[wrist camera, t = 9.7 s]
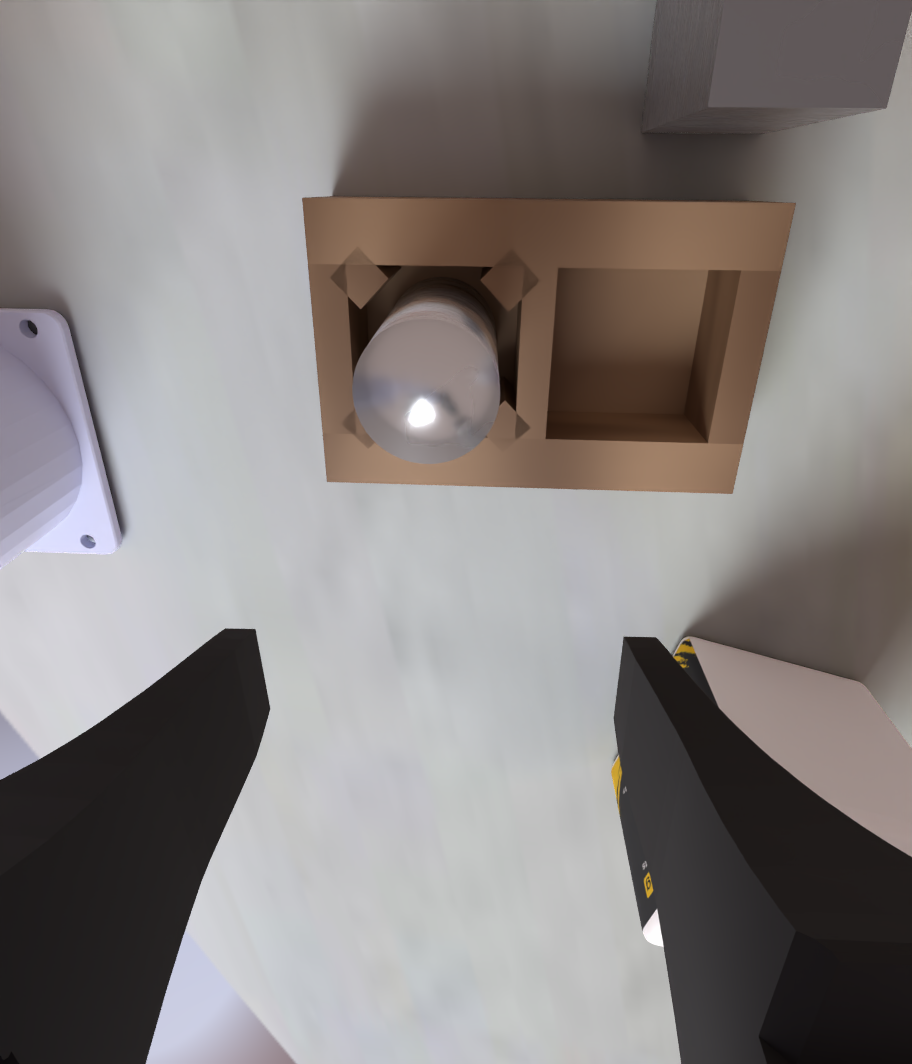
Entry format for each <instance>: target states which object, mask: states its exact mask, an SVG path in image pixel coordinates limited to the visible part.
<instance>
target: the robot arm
mask: <svg viewBox="0 0 912 1064" xmlns="http://www.w3.org/2000/svg"><path fill="white" fill-rule="evenodd" d="M28 320H31V321H32V322H33V323H34V324H35V325H36V327H37V329H38V334H37V335H36V334H34V333H33V332H31V331H30V329H29V327H28ZM87 535H89V536H91V537H93V538H94V540H95V542H96V543H94V542H91V541H90V540H89V539H88V538H87ZM121 544H122V536H121V532H120V528H119V524H118V520H117V516H116V512H115V508H114V504H113V500H112V496H111V492H110V488H109V484H108V480H107V476H106V472H105V468H104V465H103V461H102V457H101V453H100V449H99V445H98V441H97V437H96V433H95V429H94V425H93V421H92V417H91V413H90V409H89V405H88V401H87V397H86V393H85V389H84V385H83V381H82V377H81V373H80V369H79V365H78V361H77V357H76V353H75V349H74V345H73V341H72V337H71V333H70V329H69V326H68V324H67V322H66V320H65V319H64V318H63V316H62V315H61V314H59V313H58V312H56V311H54V310H49V309H13V308H0V569H2V568H3V567H4V566H6V565H7V564H8V563H10V562H11V561H12V560H13V559H15V558H16V557H17V556H19V555H20V554H21V553H23V552H53V553H82V554H112V553H113V552H115V551H116V550H117V549H118V548H119V547H120V546H121ZM269 711H270V705H269V700H268V694H267V689H266V684H265V678H264V673H263V668H262V662H261V657H260V652H259V646H258V641H257V636H256V630H255V629H224V630H223V631H221V632H220V633H218V634H217V635H216V636H214V637H213V638H212V639H210V640H209V641H208V642H206V643H205V644H204V645H203V646H201V647H200V648H199V649H197V650H196V651H195V652H194V653H192V654H191V655H190V656H189V657H187V658H186V659H185V660H184V661H182V662H181V663H180V664H178V665H177V666H176V667H175V668H173V669H172V670H171V671H169V672H168V673H167V674H165V675H164V676H163V677H162V678H160V679H159V680H158V681H156V682H155V683H154V684H152V685H151V686H150V687H149V688H147V689H146V690H145V691H143V692H142V693H140V694H139V695H138V696H136V697H135V698H133V699H132V700H131V701H129V702H128V703H126V704H125V705H123V706H122V707H121V708H119V709H118V710H116V711H115V712H114V713H112V714H111V715H109V716H108V717H107V718H105V719H104V720H102V721H101V722H99V723H98V724H96V725H95V726H93V727H92V728H90V729H89V730H87V731H86V732H84V733H82V734H81V735H79V736H78V737H76V738H75V739H73V740H71V741H70V742H68V743H66V744H65V745H63V746H61V747H60V748H58V749H56V750H55V751H53V752H51V753H50V754H48V755H46V756H44V757H43V758H41V759H39V760H37V761H36V762H34V763H32V764H30V765H28V766H26V767H24V768H22V769H21V770H19V771H17V772H15V773H13V774H11V775H9V776H7V777H5V778H3V779H1V780H0V1064H146V1060H147V1056H148V1053H149V1049H150V1046H151V1042H152V1039H153V1035H154V1031H155V1028H156V1024H157V1021H158V1018H159V1014H160V1010H161V1007H162V1003H163V1000H164V996H165V993H166V990H167V986H168V983H169V980H170V976H171V973H172V970H173V967H174V964H175V961H176V957H177V954H178V951H179V947H180V944H181V941H182V938H183V935H184V932H185V929H186V926H187V923H188V920H189V917H190V914H191V911H192V908H193V905H194V902H195V899H196V896H197V893H198V890H199V887H200V884H201V881H202V879H203V876H204V874H205V871H206V869H207V866H208V864H209V861H210V859H211V857H212V854H213V852H214V850H215V848H216V846H217V843H218V841H219V839H220V837H221V834H222V832H223V830H224V828H225V826H226V823H227V821H228V819H229V817H230V814H231V812H232V810H233V808H234V806H235V803H236V801H237V799H238V797H239V794H240V792H241V790H242V788H243V785H244V783H245V781H246V779H247V776H248V774H249V772H250V770H251V767H252V765H253V763H254V760H255V758H256V756H257V752H258V749H259V746H260V743H261V739H262V736H263V733H264V729H265V726H266V722H267V719H268V715H269ZM614 724H615V731H616V739H617V746H618V753H619V759H620V766H621V770H622V774H623V778H624V782H625V786H626V789H627V793H628V797H629V801H630V804H631V808H632V812H633V815H634V819H635V823H636V826H637V830H638V834H639V837H640V841H641V845H642V848H643V852H644V856H645V859H646V863H647V867H648V870H649V874H650V878H651V882H652V887H653V891H654V896H655V900H656V905H657V911H658V917H659V923H660V929H661V934H662V940H663V946H664V952H665V958H666V964H667V971H668V977H669V983H670V990H671V996H672V1003H673V1009H674V1015H675V1022H676V1029H677V1036H678V1043H679V1050H680V1057H681V1064H912V857H911V856H909V855H908V854H906V853H904V852H903V851H901V850H899V849H898V848H896V847H894V846H893V845H891V844H889V843H888V842H886V841H885V840H883V839H882V838H880V837H878V836H877V835H875V834H874V833H872V832H871V831H869V830H868V829H866V828H865V827H863V826H861V825H860V824H858V823H857V822H856V821H854V820H853V819H851V818H850V817H848V816H847V815H846V814H844V813H843V812H841V811H840V810H838V809H837V808H836V807H834V806H833V805H831V804H830V803H828V802H827V801H826V800H824V799H823V798H822V797H820V796H819V795H817V794H816V793H815V792H813V791H812V790H811V789H809V788H808V787H807V786H806V785H804V784H803V783H802V782H801V781H799V780H798V779H797V778H796V777H794V776H793V775H792V774H791V773H789V772H788V771H787V770H786V769H784V768H783V767H782V766H781V765H780V764H778V763H777V762H776V761H775V760H773V759H772V758H771V757H770V756H769V755H768V754H767V753H765V752H764V751H763V750H762V749H761V748H760V747H759V746H758V745H756V744H755V743H754V742H753V741H752V740H751V739H750V738H749V737H748V736H747V735H746V734H745V733H744V732H743V731H742V730H740V729H739V728H738V727H737V726H736V725H735V724H734V723H733V722H732V721H731V720H730V719H729V718H728V717H727V716H726V715H725V714H724V713H723V711H722V710H721V709H720V708H719V707H718V706H717V705H716V704H715V703H714V702H713V701H712V700H711V699H710V698H709V697H708V696H707V695H706V694H705V692H704V691H703V690H702V689H701V688H700V687H699V686H698V685H697V684H696V682H695V681H694V680H693V679H692V678H691V677H690V676H689V675H688V673H687V672H686V671H685V670H684V669H683V668H682V666H681V665H680V664H679V663H678V662H677V661H676V659H675V658H674V657H673V656H672V655H671V654H670V652H669V651H668V650H667V649H666V648H665V647H664V645H663V644H662V643H661V642H660V641H659V640H658V639H657V638H656V637H624V639H623V647H622V655H621V664H620V672H619V680H618V688H617V696H616V704H615V712H614Z"/></svg>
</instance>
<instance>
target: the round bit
mask: <svg viewBox="0 0 912 1064" xmlns="http://www.w3.org/2000/svg"><path fill="white" fill-rule="evenodd" d="M352 392H353V401H354V407H355V410H356V413H357V416H358V418H359V420H360V423H361V424H362V426H363V428H364V429H365V431H366V432H367V433H368V435H369V436H370V437H371V438H372V439H373V440H374V441H375V442H376V443H377V444H378V445H379V446H380V447H381V448H383V449H384V450H385V451H387V452H389V453H390V454H392V455H394V456H396V457H398V458H400V459H403V460H406V461H409V462H414V463H420V464H437V463H443V462H448V461H451V460H454V459H457V458H459V457H461V456H463V455H465V454H466V453H468V452H470V451H471V450H472V449H474V448H475V447H476V446H477V445H478V444H479V443H480V442H481V441H482V440H483V439H484V438H485V437H486V435H487V434H488V432H489V431H490V429H491V427H492V426H493V424H494V422H495V419H496V416H497V413H498V409H499V404H500V382H499V369H498V356H497V342H496V329H495V322H494V317H493V314H492V311H491V309H490V307H489V305H488V303H487V302H486V300H485V299H484V298H483V296H482V295H481V294H480V293H479V292H478V291H477V290H476V289H474V288H473V287H472V286H470V285H469V284H467V283H465V282H463V281H460V280H457V279H454V278H449V277H435V278H430V279H426V280H423V281H421V282H419V283H417V284H415V285H413V286H412V287H411V288H409V289H408V290H407V291H406V292H405V293H404V294H403V295H402V296H401V298H400V299H399V300H398V302H397V303H396V305H395V306H394V307H393V309H392V310H391V312H390V313H389V315H388V316H387V318H386V319H385V320H384V322H383V323H382V325H381V326H380V328H379V329H378V331H377V332H376V334H375V335H374V336H373V338H372V339H371V341H370V342H369V344H368V345H367V347H366V348H365V349H364V351H363V353H362V355H361V356H360V358H359V360H358V363H357V365H356V368H355V372H354V376H353V385H352Z"/></svg>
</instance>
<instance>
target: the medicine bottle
mask: <svg viewBox="0 0 912 1064" xmlns="http://www.w3.org/2000/svg"><path fill="white" fill-rule="evenodd" d="M673 657H674V658H675V659H676V661H677V662H678V663H679V664H680V665H681V666H682V668H683V669H684V670H685V671H686V672H687V673H688V675H689V676H690V677H691V678H692V679H693V680H694V681H695V682H696V684H697V685H698V686H699V687H700V688H701V689H702V690H703V691H704V692H705V694H706V695H707V696H708V697H709V698H710V699H711V700H712V701H713V702H714V703H715V704H716V705H717V706H718V707H719V708H720V709H721V710H722V711H723V713H724V714H725V715H726V716H727V717H728V718H729V719H730V720H731V721H732V722H733V723H734V724H735V725H736V726H737V727H738V728H739V729H740V730H742V731H743V732H744V733H745V734H746V735H747V736H748V737H749V738H750V739H751V740H752V741H753V742H754V743H755V744H756V745H758V746H759V747H760V748H761V749H762V750H763V751H764V752H765V753H767V754H768V755H769V756H770V757H771V758H772V759H773V760H775V761H776V762H777V763H778V764H780V765H781V766H782V767H783V768H784V769H786V770H787V771H788V772H789V773H791V774H792V775H793V776H794V777H796V778H797V779H798V780H799V781H801V782H802V783H803V784H804V785H806V786H807V787H808V788H809V789H811V790H812V791H813V792H815V793H816V794H817V795H819V796H820V797H822V798H823V799H824V800H826V801H827V802H828V803H830V804H831V805H833V806H834V807H836V808H837V809H838V810H840V811H841V812H843V813H844V814H846V815H847V816H848V817H850V818H851V819H853V820H854V821H856V822H857V823H858V824H860V825H861V826H863V827H865V828H866V829H868V830H869V831H871V832H872V833H874V834H875V835H877V836H878V837H880V838H882V839H883V840H885V841H886V842H888V843H889V844H891V845H893V846H894V847H896V848H898V849H899V850H901V851H903V852H904V853H906V854H908V855H909V856H911V857H912V748H911V747H910V746H909V744H908V743H907V741H906V740H905V739H904V737H903V736H902V735H901V733H900V732H899V731H898V729H897V728H896V727H895V725H894V724H893V723H892V721H891V720H890V719H889V717H888V716H887V714H886V713H885V712H884V710H883V709H882V708H881V706H880V705H879V704H878V702H877V701H876V700H875V698H874V697H873V696H872V694H871V693H870V691H869V690H868V689H867V687H866V686H865V685H863V684H862V683H860V682H858V681H855V680H851V679H847V678H843V677H840V676H836V675H832V674H829V673H825V672H821V671H818V670H814V669H810V668H807V667H803V666H799V665H796V664H792V663H788V662H784V661H781V660H777V659H773V658H770V657H766V656H762V655H759V654H755V653H751V652H748V651H744V650H740V649H737V648H733V647H729V646H725V645H722V644H718V643H714V642H711V641H707V640H703V639H700V638H696V637H689V636H688V637H686V638H683V639H682V640H681V641H680V643H679V645H678V647H677V649H676V651H675V652H674V654H673ZM611 773H612V778H613V784H614V789H615V794H616V799H617V804H618V809H619V814H620V819H621V824H622V829H623V835H624V840H625V845H626V850H627V855H628V860H629V865H630V870H631V875H632V880H633V886H634V891H635V896H636V901H637V906H638V911H639V916H640V921H641V926H642V931H643V934H644V936H645V938H646V939H647V941H649V942H650V943H652V944H654V945H659V946H663V940H662V934H661V929H660V923H659V917H658V911H657V905H656V900H655V896H654V891H653V887H652V882H651V878H650V874H649V870H648V867H647V863H646V859H645V856H644V852H643V848H642V845H641V841H640V837H639V834H638V830H637V826H636V823H635V819H634V815H633V812H632V808H631V804H630V801H629V797H628V793H627V789H626V786H625V782H624V778H623V774H622V770H621V766H620V759H619V754H618V756H617V758H616V760H615V761H614V763H613V765H612V771H611ZM663 947H664V946H663Z"/></svg>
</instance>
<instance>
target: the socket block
mask: <svg viewBox="0 0 912 1064" xmlns="http://www.w3.org/2000/svg"><path fill="white" fill-rule="evenodd" d="M302 201H303V212H304V224H305V235H306V247H307V258H308V270H309V281H310V292H311V304H312V315H313V327H314V338H315V350H316V361H317V373H318V384H319V395H320V407H321V418H322V430H323V441H324V453H325V464H326V476H327V482H351V483H385V484H419V485H453V486H486V487H520V488H554V489H588V490H622V491H656V492H690V493H724V494H732V493H733V489H734V484H735V479H736V475H737V470H738V466H739V461H740V457H741V452H742V447H743V443H744V438H745V434H746V429H747V425H748V420H749V415H750V411H751V406H752V402H753V397H754V393H755V388H756V383H757V379H758V374H759V370H760V365H761V361H762V356H763V351H764V347H765V342H766V338H767V333H768V329H769V324H770V319H771V315H772V310H773V306H774V301H775V297H776V292H777V287H778V283H779V278H780V274H781V269H782V265H783V260H784V255H785V251H786V246H787V242H788V237H789V232H790V228H791V223H792V219H793V214H794V210H795V205H796V203H783V202H764V201H725V200H629V199H533V198H437V197H340V196H330V197H311V198H302ZM435 277H449V278H454V279H457V280H460V281H463V282H465V283H467V284H469V285H470V286H472V287H473V288H474V289H476V290H477V291H478V292H479V293H480V294H481V295H482V296H483V298H484V299H485V300H486V302H487V303H488V305H489V307H490V309H491V311H492V314H493V317H494V322H495V329H496V342H497V356H498V369H499V382H500V404H499V409H498V413H497V416H496V419H495V422H494V424H493V426H492V427H491V429H490V431H489V432H488V434H487V435H486V437H485V438H484V439H483V440H482V441H481V442H480V443H479V444H478V445H477V446H476V447H475V448H474V449H472V450H471V451H470V452H468V453H466V454H465V455H463V456H461V457H459V458H457V459H454V460H451V461H448V462H443V463H437V464H420V463H414V462H409V461H406V460H403V459H400V458H398V457H396V456H394V455H392V454H390V453H389V452H387V451H385V450H384V449H383V448H381V447H380V446H379V445H378V444H377V443H376V442H375V441H374V440H373V439H372V438H371V437H370V436H369V435H368V433H367V432H366V431H365V429H364V428H363V426H362V424H361V423H360V420H359V418H358V416H357V413H356V410H355V407H354V401H353V392H352V385H353V376H354V372H355V368H356V365H357V363H358V360H359V358H360V356H361V355H362V353H363V351H364V349H365V348H366V347H367V345H368V344H369V342H370V341H371V339H372V338H373V336H374V335H375V334H376V332H377V331H378V329H379V328H380V326H381V325H382V323H383V322H384V320H385V319H386V318H387V316H388V315H389V313H390V312H391V310H392V309H393V307H394V306H395V305H396V303H397V302H398V300H399V299H400V298H401V296H402V295H403V294H404V293H405V292H406V291H407V290H408V289H409V288H411V287H412V286H413V285H415V284H417V283H419V282H421V281H423V280H426V279H430V278H435Z"/></svg>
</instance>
